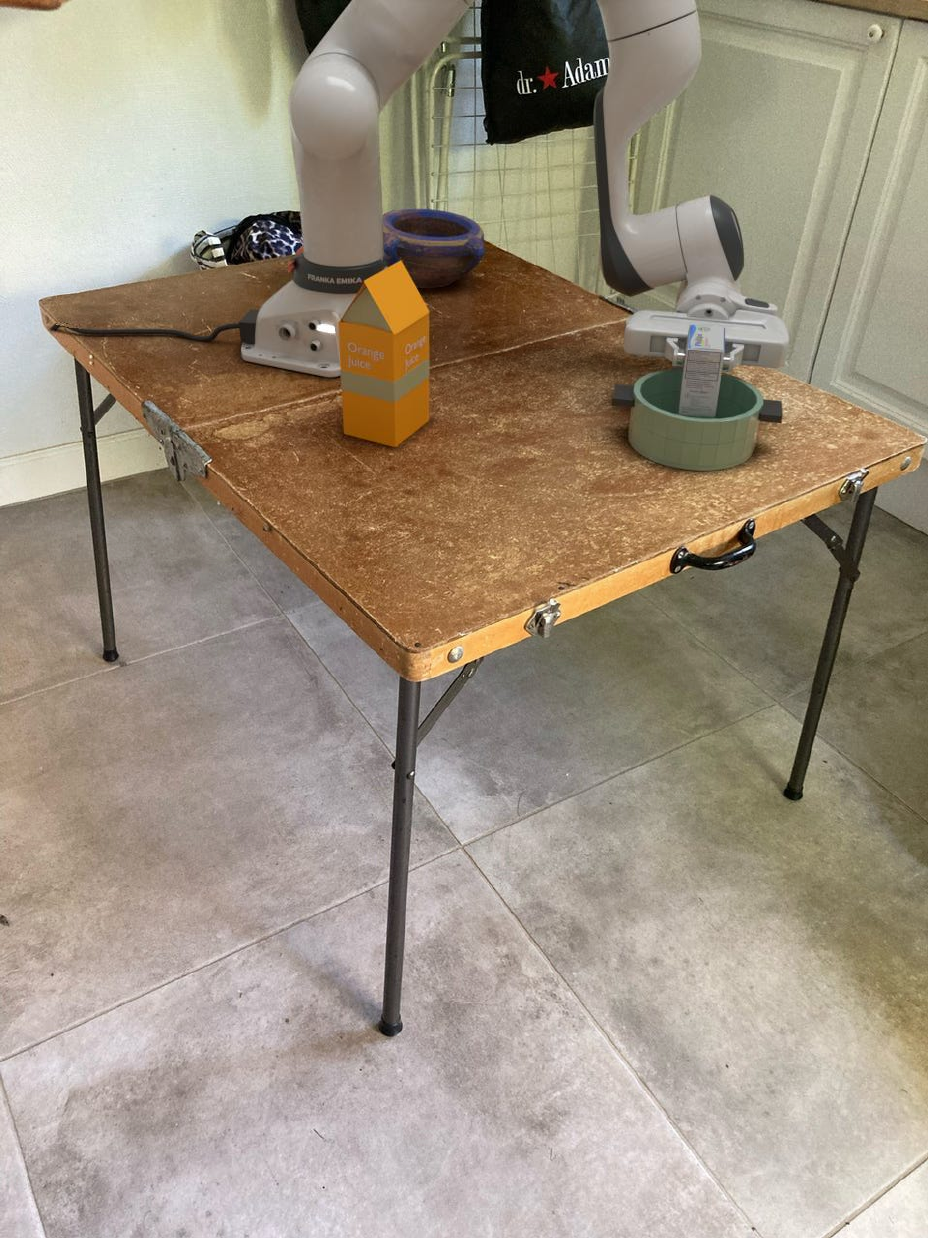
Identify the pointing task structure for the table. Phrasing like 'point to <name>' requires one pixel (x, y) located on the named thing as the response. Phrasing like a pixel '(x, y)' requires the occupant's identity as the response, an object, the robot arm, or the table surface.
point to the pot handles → (768, 414)
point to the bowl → (432, 244)
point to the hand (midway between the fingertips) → (703, 363)
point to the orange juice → (385, 359)
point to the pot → (694, 423)
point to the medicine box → (702, 370)
